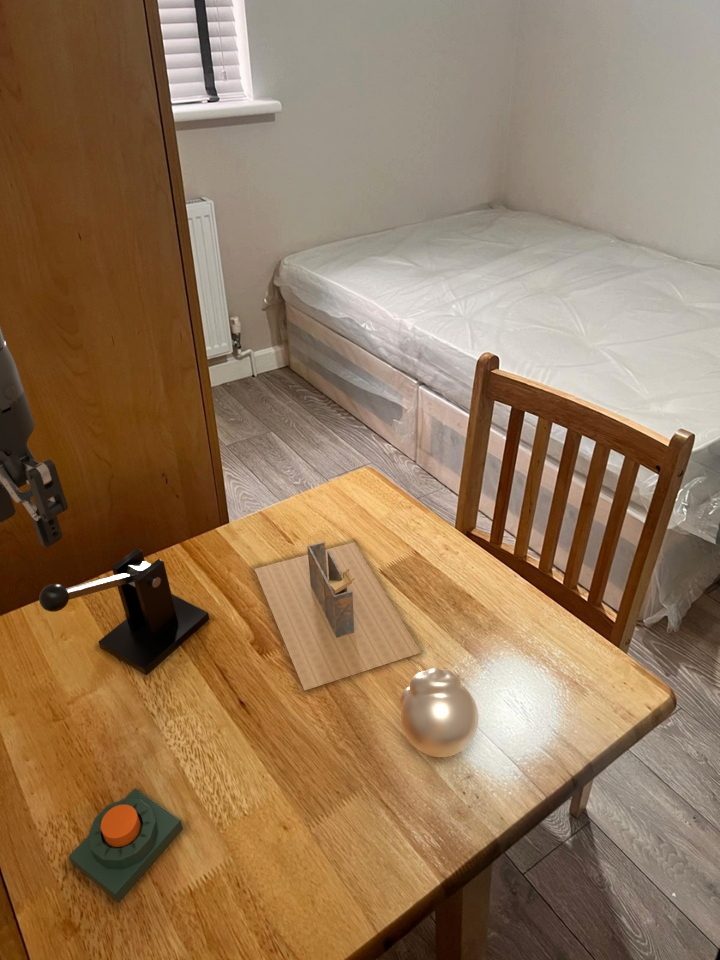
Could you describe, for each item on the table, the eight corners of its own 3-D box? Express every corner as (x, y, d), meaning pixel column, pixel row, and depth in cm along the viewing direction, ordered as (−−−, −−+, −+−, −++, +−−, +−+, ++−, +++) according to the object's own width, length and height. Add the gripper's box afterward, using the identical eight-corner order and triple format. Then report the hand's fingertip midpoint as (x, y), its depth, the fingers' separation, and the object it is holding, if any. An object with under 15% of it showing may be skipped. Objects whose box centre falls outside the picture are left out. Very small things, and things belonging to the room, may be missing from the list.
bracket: (146, 675, 95) (126, 605, 88) (100, 648, 99) (77, 578, 92) (209, 619, 103) (195, 550, 96) (164, 595, 108) (147, 527, 100)
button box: (118, 903, 72) (110, 885, 70) (72, 864, 75) (63, 846, 73) (183, 828, 78) (178, 810, 76) (138, 796, 81) (131, 777, 79)
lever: (49, 619, 82) (52, 593, 82) (31, 608, 84) (34, 582, 83) (155, 587, 96) (158, 565, 95) (138, 578, 98) (141, 556, 97)
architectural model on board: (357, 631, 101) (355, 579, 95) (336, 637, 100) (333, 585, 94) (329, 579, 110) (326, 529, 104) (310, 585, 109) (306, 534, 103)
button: (121, 854, 73) (117, 844, 72) (96, 835, 74) (92, 826, 73) (147, 825, 75) (144, 815, 74) (124, 807, 77) (120, 797, 76)
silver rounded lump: (475, 707, 90) (480, 651, 84) (476, 776, 82) (482, 720, 77) (401, 701, 91) (402, 646, 85) (396, 769, 83) (396, 713, 78)
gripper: (-100, 391, 70) (-42, 526, 79) (-10, 430, 63) (41, 573, 72) (-29, 362, 75) (18, 492, 84) (61, 395, 68) (101, 533, 78)
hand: (28, 529), depth 78 cm, fingers open, 7 cm apart
